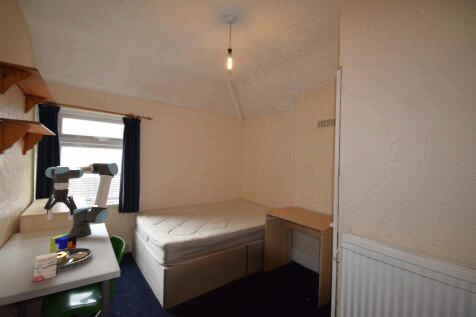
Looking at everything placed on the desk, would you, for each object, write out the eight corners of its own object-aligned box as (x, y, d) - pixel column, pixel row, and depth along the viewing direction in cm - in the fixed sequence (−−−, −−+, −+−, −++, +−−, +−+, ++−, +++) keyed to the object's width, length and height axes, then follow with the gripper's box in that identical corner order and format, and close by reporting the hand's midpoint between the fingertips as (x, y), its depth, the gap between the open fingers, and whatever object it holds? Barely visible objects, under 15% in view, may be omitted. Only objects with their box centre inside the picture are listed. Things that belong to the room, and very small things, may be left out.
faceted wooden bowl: (56, 262, 126) (56, 252, 126) (69, 262, 126) (69, 252, 126) (44, 268, 118) (44, 258, 118) (58, 269, 118) (58, 258, 118)
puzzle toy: (62, 254, 139) (63, 239, 139) (49, 253, 140) (50, 238, 140) (76, 248, 149) (76, 234, 149) (64, 247, 150) (65, 233, 150)
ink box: (33, 282, 106) (35, 259, 107) (32, 279, 109) (34, 256, 110) (56, 276, 113) (57, 254, 113) (54, 273, 116) (56, 251, 116)
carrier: (62, 252, 142) (63, 244, 142) (100, 253, 142) (101, 245, 142) (24, 271, 116) (25, 261, 116) (70, 273, 116) (71, 263, 116)
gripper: (37, 188, 136) (35, 220, 136) (76, 190, 137) (74, 221, 137) (47, 187, 143) (46, 217, 143) (84, 188, 144) (82, 218, 144)
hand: (60, 219), depth 140 cm, fingers open, 13 cm apart
